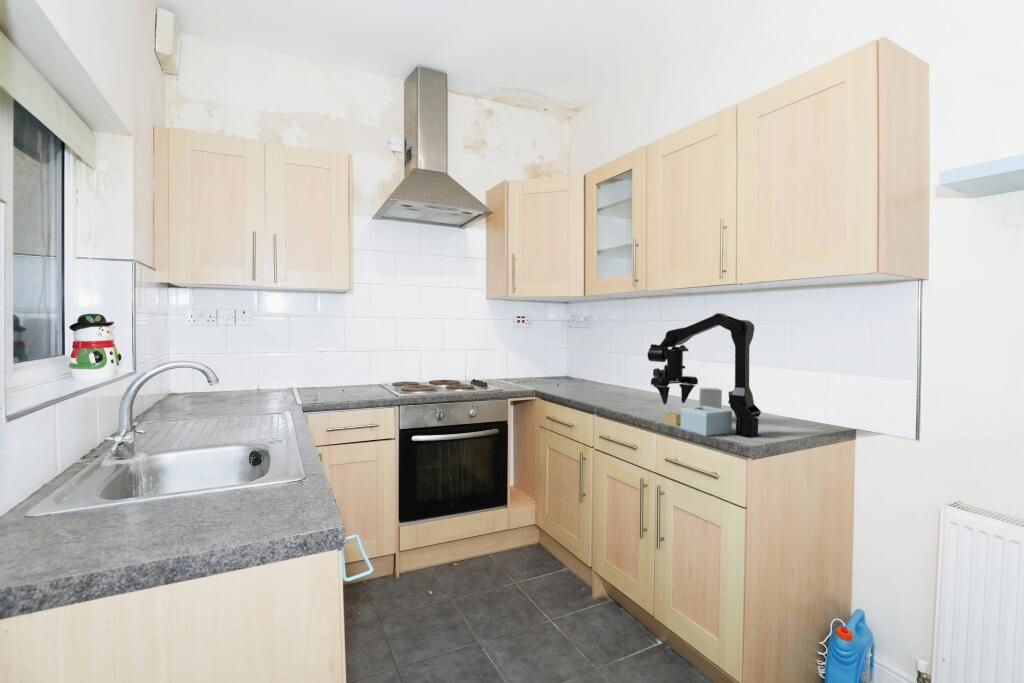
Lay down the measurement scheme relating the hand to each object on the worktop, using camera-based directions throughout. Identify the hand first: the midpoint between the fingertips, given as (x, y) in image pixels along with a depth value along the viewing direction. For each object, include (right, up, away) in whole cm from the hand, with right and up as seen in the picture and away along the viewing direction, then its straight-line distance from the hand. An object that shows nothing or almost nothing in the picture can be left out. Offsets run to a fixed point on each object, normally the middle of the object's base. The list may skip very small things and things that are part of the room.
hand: (674, 403), depth 195 cm
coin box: (+7, -8, -14) cm, 18 cm away
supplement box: (+17, -8, +8) cm, 21 cm away
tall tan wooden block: (0, -8, 0) cm, 8 cm away
